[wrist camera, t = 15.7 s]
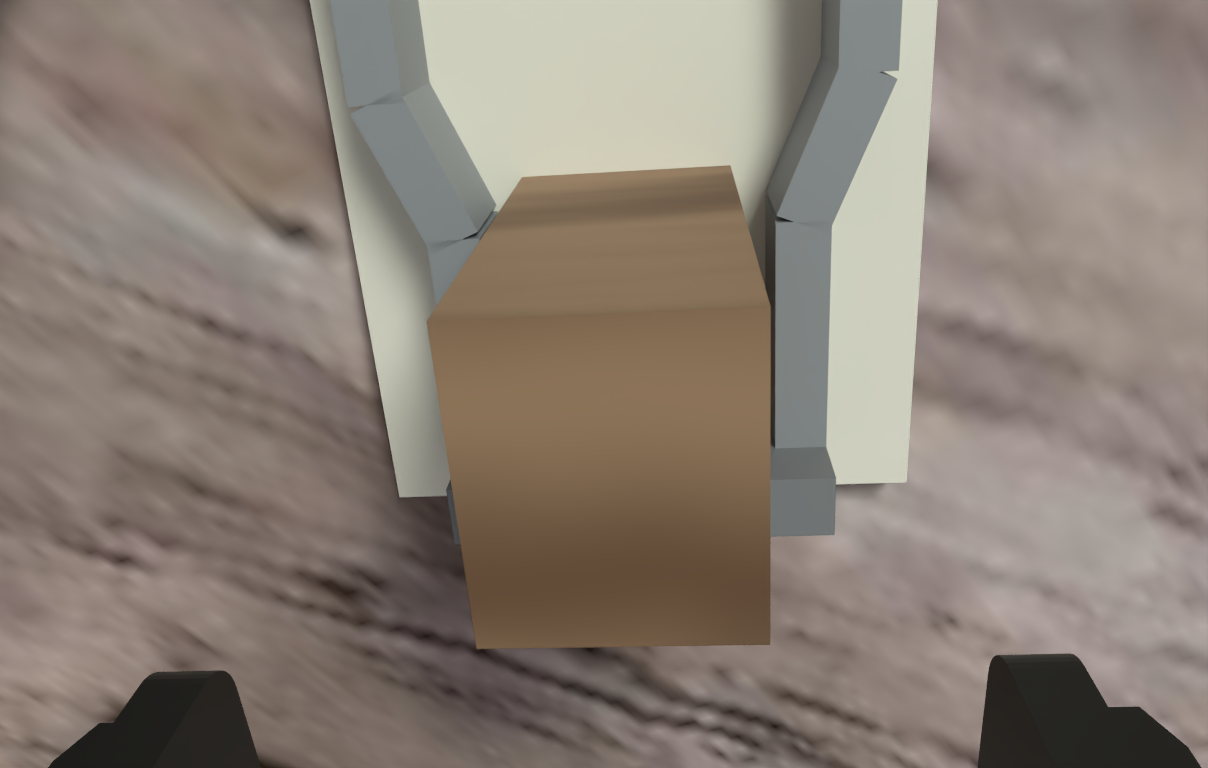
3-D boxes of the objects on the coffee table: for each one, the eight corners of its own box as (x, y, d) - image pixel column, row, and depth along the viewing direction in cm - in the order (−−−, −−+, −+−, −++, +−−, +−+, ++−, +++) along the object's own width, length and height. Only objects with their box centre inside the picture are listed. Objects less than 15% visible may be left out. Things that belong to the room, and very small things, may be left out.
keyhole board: (239, -482, 19) (105, -618, 15) (960, -569, 18) (1059, -747, 13) (408, 479, 28) (357, 581, 24) (898, 464, 27) (944, 568, 22)
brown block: (522, 176, 23) (426, 321, 14) (730, 165, 23) (770, 306, 14) (545, 401, 26) (476, 649, 17) (733, 395, 25) (770, 644, 16)
